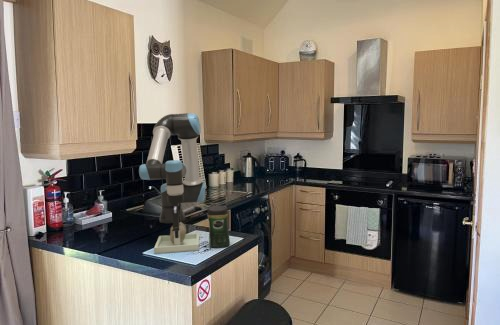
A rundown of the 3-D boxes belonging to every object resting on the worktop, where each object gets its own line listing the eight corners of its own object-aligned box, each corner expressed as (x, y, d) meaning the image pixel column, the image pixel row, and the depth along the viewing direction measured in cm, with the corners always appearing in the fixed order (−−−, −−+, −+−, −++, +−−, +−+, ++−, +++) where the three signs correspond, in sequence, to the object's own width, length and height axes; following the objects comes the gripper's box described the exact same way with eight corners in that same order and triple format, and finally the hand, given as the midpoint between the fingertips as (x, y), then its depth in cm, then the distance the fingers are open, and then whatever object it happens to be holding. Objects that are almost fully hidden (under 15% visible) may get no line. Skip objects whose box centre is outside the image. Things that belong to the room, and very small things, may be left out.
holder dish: (159, 241, 188) (159, 236, 188) (199, 238, 190) (199, 233, 190) (154, 254, 169) (154, 247, 169) (199, 250, 171) (198, 244, 171)
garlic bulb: (180, 244, 184) (183, 223, 186) (190, 244, 178) (192, 223, 180) (163, 242, 178) (166, 220, 180) (172, 242, 172) (175, 220, 174)
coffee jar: (229, 242, 182) (228, 203, 180) (229, 247, 174) (228, 207, 173) (209, 243, 181) (207, 204, 180) (208, 248, 174) (206, 208, 172)
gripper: (169, 190, 188) (171, 235, 190) (164, 198, 166) (167, 249, 168) (184, 189, 189) (187, 234, 191) (182, 197, 167) (185, 247, 169)
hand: (178, 241), depth 179 cm, fingers closed on garlic bulb, 9 cm apart
